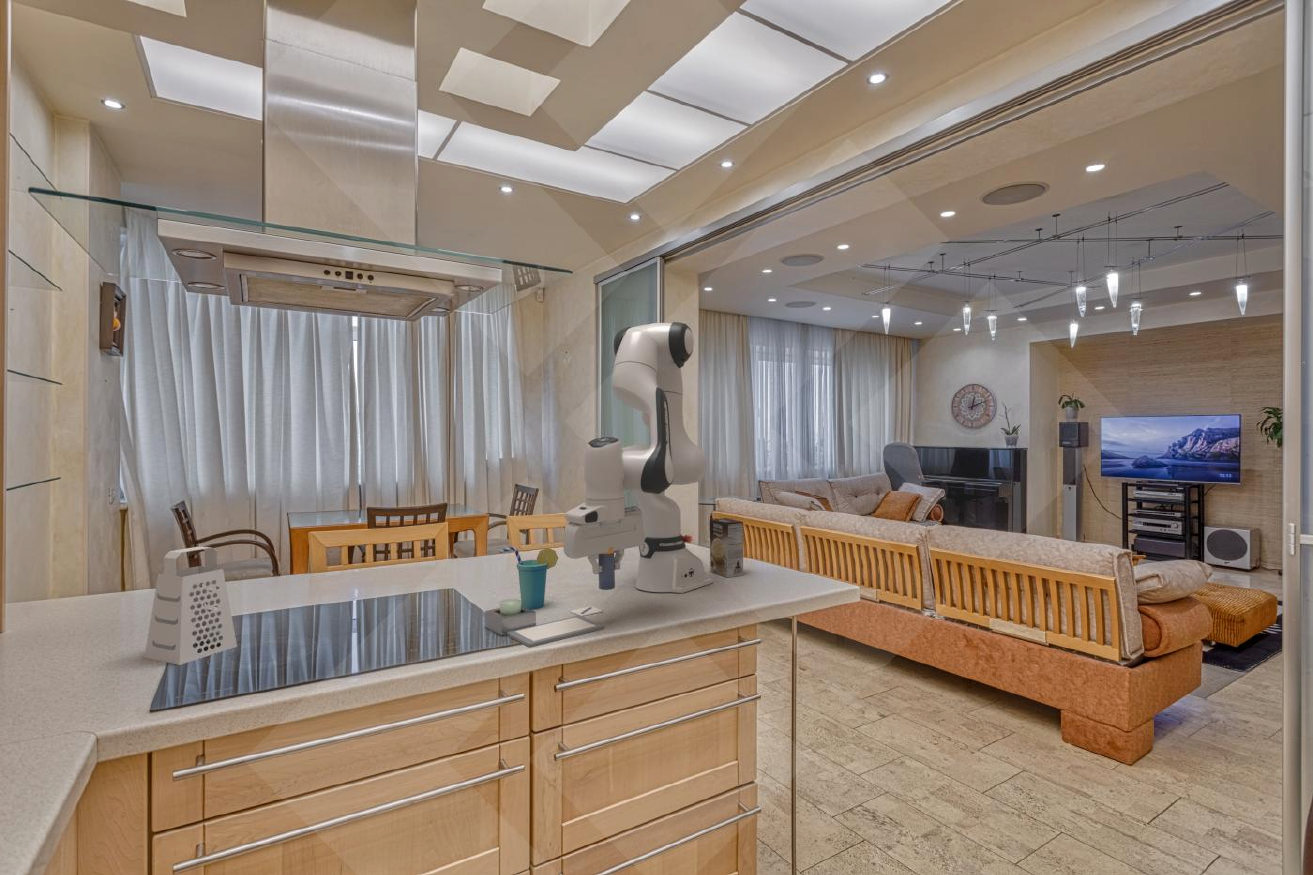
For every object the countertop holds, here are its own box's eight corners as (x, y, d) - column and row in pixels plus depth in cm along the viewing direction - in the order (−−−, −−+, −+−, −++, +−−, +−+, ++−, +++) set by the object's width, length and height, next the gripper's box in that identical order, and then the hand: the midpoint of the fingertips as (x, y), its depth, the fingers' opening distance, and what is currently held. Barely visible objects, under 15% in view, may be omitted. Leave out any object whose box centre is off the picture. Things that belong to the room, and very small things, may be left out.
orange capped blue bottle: (608, 584, 142) (608, 543, 141) (618, 587, 139) (617, 546, 138) (595, 587, 139) (594, 546, 139) (604, 591, 136) (603, 548, 136)
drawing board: (578, 618, 141) (578, 615, 141) (604, 628, 133) (604, 625, 133) (506, 634, 129) (506, 631, 129) (529, 647, 122) (529, 643, 122)
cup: (501, 614, 144) (501, 550, 144) (497, 605, 152) (497, 544, 151) (561, 607, 149) (560, 545, 149) (554, 599, 157) (553, 540, 157)
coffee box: (708, 572, 187) (708, 519, 187) (726, 569, 191) (725, 517, 190) (727, 578, 179) (726, 522, 179) (744, 575, 183) (744, 521, 182)
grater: (237, 646, 123) (236, 546, 123) (179, 664, 113) (178, 556, 113) (202, 640, 127) (201, 543, 127) (144, 657, 117) (143, 552, 117)
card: (591, 607, 149) (591, 605, 149) (602, 611, 146) (602, 610, 146) (569, 612, 146) (569, 610, 146) (581, 616, 142) (581, 615, 142)
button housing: (518, 619, 140) (518, 604, 140) (535, 628, 134) (535, 611, 134) (485, 626, 135) (485, 610, 135) (501, 636, 129) (501, 619, 129)
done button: (514, 615, 137) (514, 598, 137) (524, 620, 134) (524, 602, 134) (496, 619, 134) (496, 601, 134) (505, 624, 131) (505, 605, 131)
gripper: (633, 503, 147) (634, 560, 148) (558, 514, 134) (560, 577, 135) (649, 506, 143) (651, 565, 143) (574, 517, 129) (576, 583, 130)
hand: (606, 571), depth 139 cm, fingers closed on orange capped blue bottle, 4 cm apart
